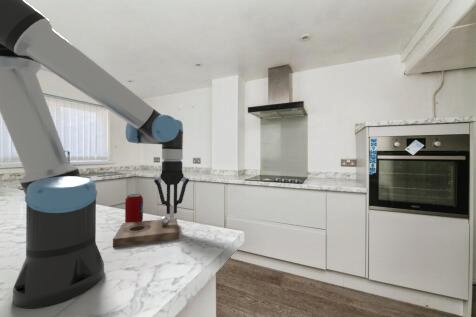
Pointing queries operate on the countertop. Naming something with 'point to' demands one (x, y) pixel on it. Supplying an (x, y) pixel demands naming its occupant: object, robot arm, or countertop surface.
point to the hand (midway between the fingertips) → (171, 222)
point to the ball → (164, 221)
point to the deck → (145, 232)
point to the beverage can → (134, 208)
